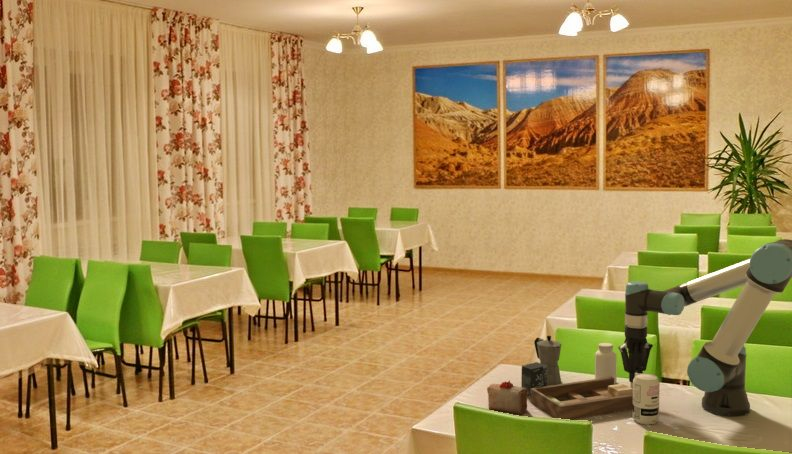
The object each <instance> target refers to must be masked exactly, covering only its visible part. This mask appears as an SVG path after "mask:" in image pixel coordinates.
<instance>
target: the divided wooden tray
mask: <svg viewBox="0 0 792 454" xmlns="http://www.w3.org/2000/svg"><path fill="white" fill-rule="evenodd" d="M610 385H615V384H614V378H613V377H607V378H600V379H595V378H594V379H588V380H580V381H575V382H573V381H572V382H566V383H558V384H553V385H547V386H544V387H537V388H531V396H530V403H531V404H532V405H535V406H536V407H537V408H539V409H541V410H542V411H544V412H545V413H547V414H548V415H550V416H552V417H553V418H554V419H556V418H561V419H572V420H577V419H583V418H591V417H597V416H602V415H608V414H615V413H621V412H627V411H633V394H629V395H622V396H616V397H608V386H610Z"/></svg>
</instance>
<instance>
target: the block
mask: <svg viewBox="0 0 792 454" xmlns="http://www.w3.org/2000/svg"><path fill="white" fill-rule="evenodd" d="M629 394H633V389H632V388H631V386H629V385H626V384H624V383H618V384H617V383H616V384H614V385H610V386H608V397H616V396H622V395H629Z"/></svg>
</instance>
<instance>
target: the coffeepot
mask: <svg viewBox="0 0 792 454" xmlns="http://www.w3.org/2000/svg"><path fill="white" fill-rule="evenodd" d="M546 338H547V339H543V338H540V337H536V338H535V340H534V342H533V343H534V347H535V353H536V356H537V359H539V363H541V364H544V365H547V386H551V385H558V384H561V382H562V378H561V377H562V376H561V372H560V365H559V364H558V363H559V361H560V357H561V350H562V343H561V342H560V341H558V340H557V341H556V340H552V336H551V335H546Z"/></svg>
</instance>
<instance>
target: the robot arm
mask: <svg viewBox="0 0 792 454" xmlns="http://www.w3.org/2000/svg"><path fill="white" fill-rule="evenodd" d="M791 279H792V239H788V238H786V239H785V238H784V239H778V240H776V241H773V242H768V243H764V244H761V246H759V247H758V248H756V249H755V251H753V253H752V254H751V256H750V258H747V259H744V260H742V261H740V262H736V263H734V264H732V265H729V266H726V267H724V268H721V269H718V270H716V271H714V272H710V273H708V274H705V275H702V276H700V277H697V278H695V279H692V280H689V281H688V282H684V283H682V284H678V285H676V286H674V287H671V288H669V289H665V290H657V289H656V290H654V289H650V288H649V284H648V283H647V282H645V281H638V280H637V281H636V280H633V281H632V280H631V281H629V282H627V283H626V284H625V294H624V296H625V301H624V304H625V305H624V306H625V309H624V337H625V339H624V342H623V344H622V345H619V346H618V350H619V352H620V355H621V362H622V364H623V370H624V372H626V373H628V375H629V376H628V381H629V382H630V388H632V389H633V379H634V378H635V375H636V374H641V373H644V372H645V371H647V368H648V362H649V358H650V354H651V350H652V349H653V344H652V343H649V342H648V339H647V337H648V327H647V326H648V320H649V319H648V314H649V313H648V312H652V313H657V314H663V315H668V316H680V315H681V314H682V312H683V311H684V308H685V307H688V306H690V305H693V304H696V303H697V302H701V301H704V300H707V299H709V298H712V297H715V296H718V295H720V294H724V293H726V292H729V291H732V290H735V289H739V288H740V287H742V289H741V291H740V292H739V294H738V296H737V297H736V299H735V301H734V302H733V304H732V306H731V308H730V309H729V312H728V313H727V314H726V316H725V318H724V320H723V322H722V323H721V325H720V327H719V329H718V330H717V332H716V333H715V335H714V337H713V339H712V340H711V341H710V340H709V341H706V342H704V344H703V345H702V348H701V349H700V351H699V352H698V353H697V355H696V357H694V358H693V359H691V360H690V361H689V363H688V365H687V369H686V372H687V376H688V380H689V381H690V383H691V384H692V385H693V386H694V387H695V388H696V389H698V390H700V391H702V392H704V394H703V397H702V398H701V408H702V409H704V410H705V411H707V412H709V413H712V414H716V415H720V416H727V417H729V416H730V417H741V416H740V415H742V416H746V415H748V414H750V413H751V404H750V401H749V398H748V394H747V391H746V365H747V349H746V346H745V344H746V342H747V341H748V339H749V337H750V336H751V334H752V332H753V331H754V329H755V328H756V326H757V325H758V322H759V321H760V320H761V318H762V316H763V314H764V312H765V311H766V310H767V308H768V306H769V304H770V303H771V301H772V299H773V298H774V296H775V295H777V294H782V293H783V292H784V290H785V289H786V288H787V286H788V285H789V283H790V281H791ZM745 414H746V415H745Z"/></svg>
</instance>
